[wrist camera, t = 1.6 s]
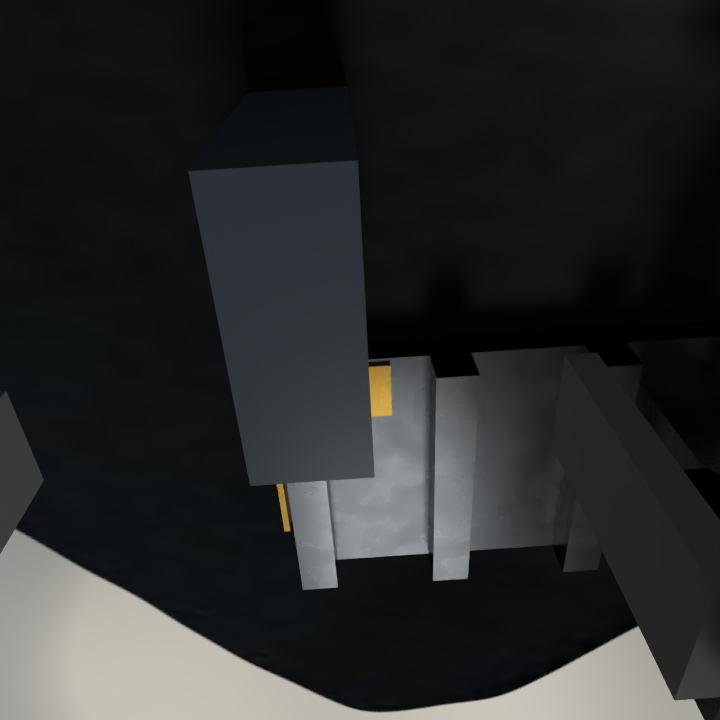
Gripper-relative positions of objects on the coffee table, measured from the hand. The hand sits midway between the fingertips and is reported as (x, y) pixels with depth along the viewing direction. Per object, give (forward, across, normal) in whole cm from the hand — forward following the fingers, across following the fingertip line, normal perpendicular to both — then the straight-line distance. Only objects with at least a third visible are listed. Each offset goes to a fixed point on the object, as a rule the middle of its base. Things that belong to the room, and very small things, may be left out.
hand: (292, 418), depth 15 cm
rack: (+15, +10, -14) cm, 23 cm away
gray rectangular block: (+15, 0, 0) cm, 15 cm away
